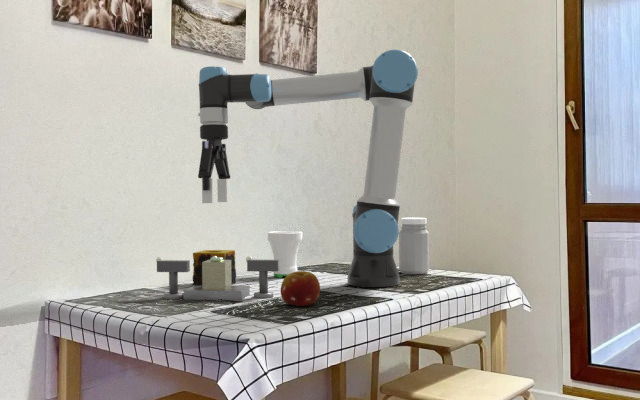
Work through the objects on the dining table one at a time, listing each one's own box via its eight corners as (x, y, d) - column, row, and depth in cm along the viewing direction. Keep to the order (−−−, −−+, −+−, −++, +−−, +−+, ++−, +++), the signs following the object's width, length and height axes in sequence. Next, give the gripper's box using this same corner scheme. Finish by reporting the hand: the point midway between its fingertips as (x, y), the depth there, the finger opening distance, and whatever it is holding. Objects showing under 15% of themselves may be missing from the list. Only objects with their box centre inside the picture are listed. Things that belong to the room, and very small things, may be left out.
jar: (408, 270, 229) (407, 217, 228) (434, 272, 223) (433, 217, 223) (393, 273, 221) (393, 218, 220) (420, 275, 215) (420, 219, 215)
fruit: (288, 310, 156) (288, 275, 156) (275, 304, 164) (274, 271, 164) (326, 306, 160) (326, 273, 160) (311, 301, 168) (311, 268, 168)
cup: (309, 275, 217) (309, 231, 216) (289, 279, 207) (289, 233, 207) (281, 273, 223) (280, 230, 223) (260, 277, 213) (260, 232, 213)
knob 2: (280, 295, 176) (280, 255, 176) (277, 298, 171) (276, 257, 171) (248, 295, 177) (248, 255, 177) (244, 298, 172) (243, 257, 172)
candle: (225, 288, 192) (225, 253, 191) (191, 287, 194) (191, 252, 193) (237, 283, 202) (236, 249, 201) (205, 282, 204) (204, 249, 203)
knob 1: (191, 296, 176) (191, 256, 176) (185, 299, 171) (185, 257, 171) (160, 295, 177) (159, 255, 177) (153, 298, 172) (152, 257, 172)
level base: (249, 294, 178) (249, 254, 178) (241, 300, 169) (241, 257, 169) (194, 294, 180) (194, 254, 180) (183, 299, 171) (183, 257, 171)
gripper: (214, 129, 197) (215, 201, 197) (184, 120, 172) (186, 203, 173) (239, 128, 196) (240, 201, 196) (213, 119, 171) (214, 203, 172)
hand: (215, 202), depth 184 cm, fingers open, 13 cm apart
